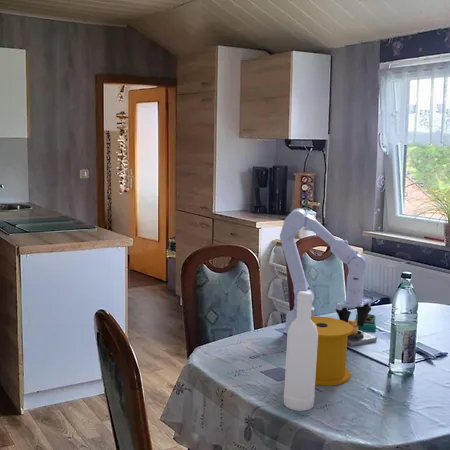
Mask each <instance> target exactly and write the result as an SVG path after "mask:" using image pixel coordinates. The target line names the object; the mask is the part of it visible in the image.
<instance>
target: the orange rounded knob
mask: <svg viewBox="0 0 450 450" xmlns="http://www.w3.org/2000/svg"><path fill="white" fill-rule="evenodd" d="M348 323H349V324H351V325H352V326H353V333H352V334H351V335H358V325H357V320H356V319H349V320H348Z"/></svg>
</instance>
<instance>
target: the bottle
mask: <svg viewBox="0 0 450 450" xmlns="http://www.w3.org/2000/svg"><path fill="white" fill-rule="evenodd" d="M297 300H298V301H297V319H295V320H294V321H293V322H292V323H291V324H290V327H289V329H288V333H287V334H286V353H285V369H284V371H285V372H284V373H285V374H284V388H283V389H284V391H283V404H284V406H285V407H286V408H287V409H290V410H293V411H297V412H303V411H305V412H306V411H310V410H311V409H313V408H314V405H315V395H316V394H315V388H316V385H315V376H316V360H317V344H318V331H317V327H316V325H315V324H314V323H313V322H312V320H311V307H312V306H313V304H312V300H313V298H312V293H311V292H307V291H300V292H299V293H298V297H297Z"/></svg>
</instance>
